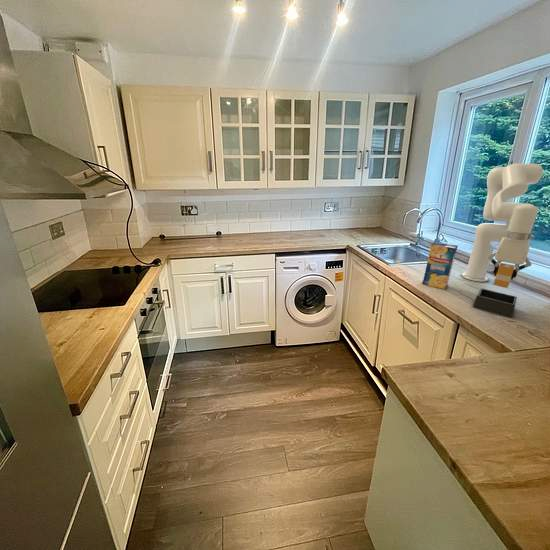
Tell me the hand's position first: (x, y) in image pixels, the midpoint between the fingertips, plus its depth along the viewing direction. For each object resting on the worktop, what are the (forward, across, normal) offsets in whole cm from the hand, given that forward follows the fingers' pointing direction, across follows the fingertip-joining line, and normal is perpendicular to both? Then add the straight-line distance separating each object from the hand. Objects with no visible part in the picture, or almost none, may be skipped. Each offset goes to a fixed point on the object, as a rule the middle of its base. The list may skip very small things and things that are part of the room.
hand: (503, 276), depth 124 cm
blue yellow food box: (+15, +27, -11) cm, 33 cm away
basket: (+15, 0, 0) cm, 15 cm away
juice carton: (+4, 0, 0) cm, 4 cm away
